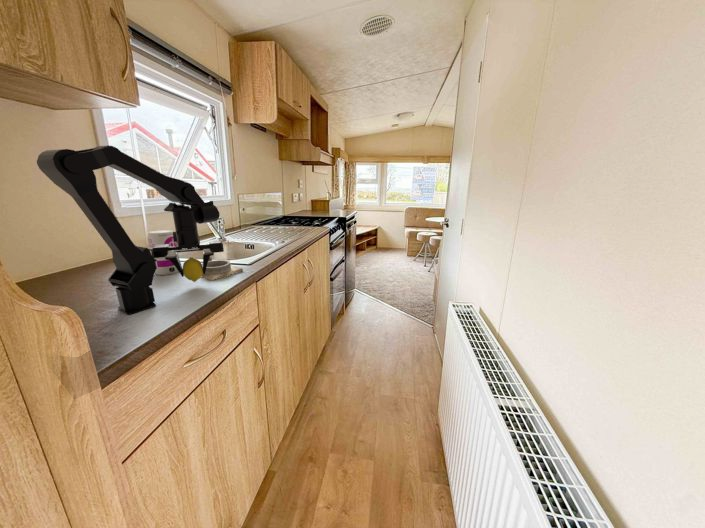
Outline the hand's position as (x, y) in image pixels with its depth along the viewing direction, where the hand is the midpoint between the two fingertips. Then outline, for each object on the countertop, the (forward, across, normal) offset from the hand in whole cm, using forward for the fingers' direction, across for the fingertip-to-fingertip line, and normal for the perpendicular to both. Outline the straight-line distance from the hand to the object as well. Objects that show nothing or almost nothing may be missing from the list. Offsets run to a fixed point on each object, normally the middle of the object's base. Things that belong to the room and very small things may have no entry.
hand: (193, 275), depth 87 cm
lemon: (+2, 0, 0) cm, 2 cm away
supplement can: (+4, +9, -20) cm, 22 cm away
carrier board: (+4, -6, -13) cm, 15 cm away
